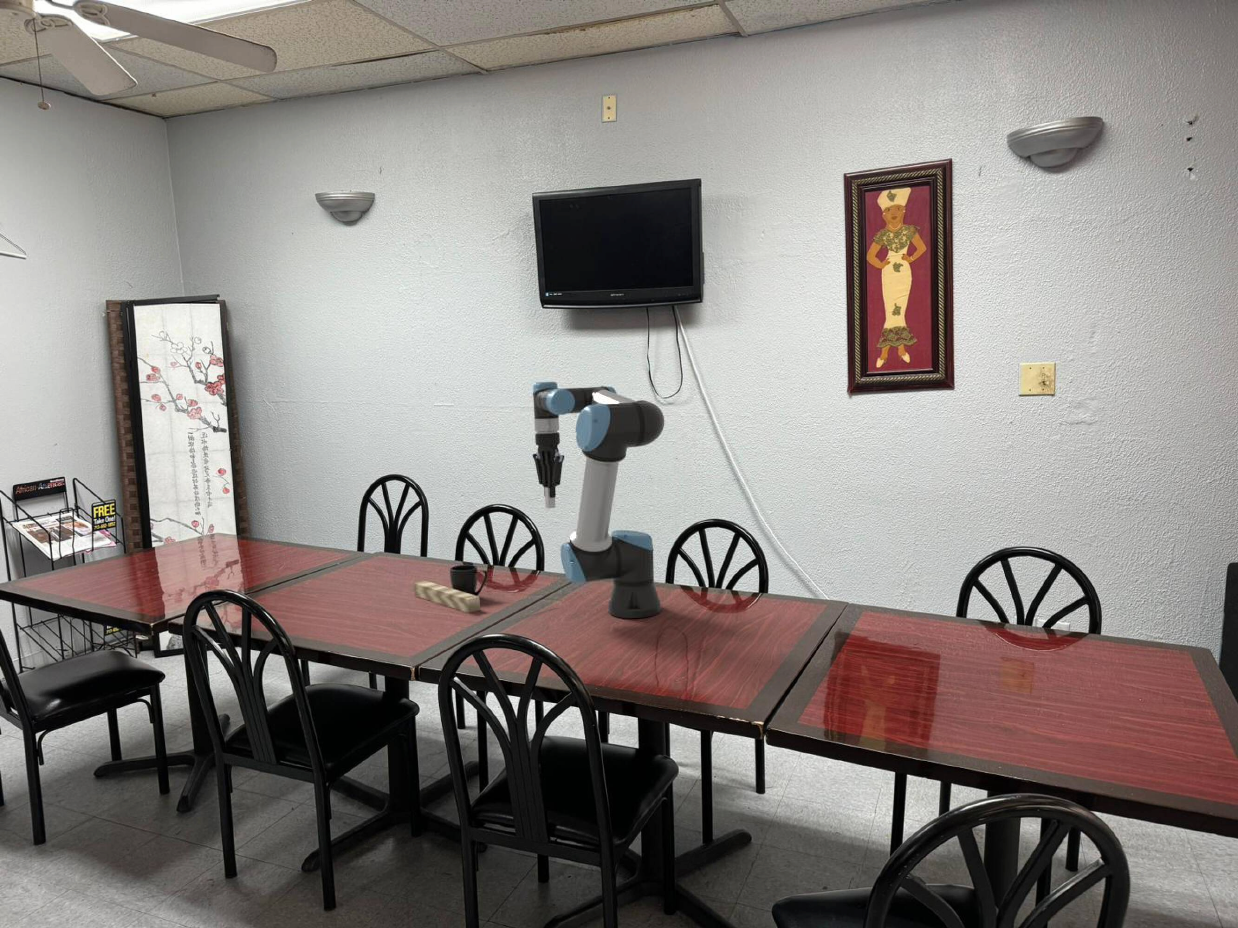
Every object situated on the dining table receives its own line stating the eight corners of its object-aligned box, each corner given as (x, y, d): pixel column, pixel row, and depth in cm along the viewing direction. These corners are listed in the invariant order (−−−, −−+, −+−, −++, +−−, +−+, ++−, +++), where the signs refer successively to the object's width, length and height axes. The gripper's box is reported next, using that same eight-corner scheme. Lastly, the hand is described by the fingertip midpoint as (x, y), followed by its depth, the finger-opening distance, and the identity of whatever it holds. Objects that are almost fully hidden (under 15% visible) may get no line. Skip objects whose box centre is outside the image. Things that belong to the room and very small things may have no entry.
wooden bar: (480, 609, 259) (479, 596, 258) (468, 612, 256) (467, 599, 255) (425, 592, 280) (425, 580, 280) (414, 595, 278) (413, 583, 277)
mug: (482, 602, 266) (480, 571, 265) (446, 600, 270) (444, 570, 269) (494, 595, 274) (492, 565, 273) (459, 593, 278) (457, 564, 277)
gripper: (570, 431, 270) (573, 508, 272) (543, 430, 279) (546, 504, 282) (551, 433, 265) (554, 511, 267) (524, 432, 274) (528, 507, 277)
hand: (550, 507), depth 275 cm, fingers closed
